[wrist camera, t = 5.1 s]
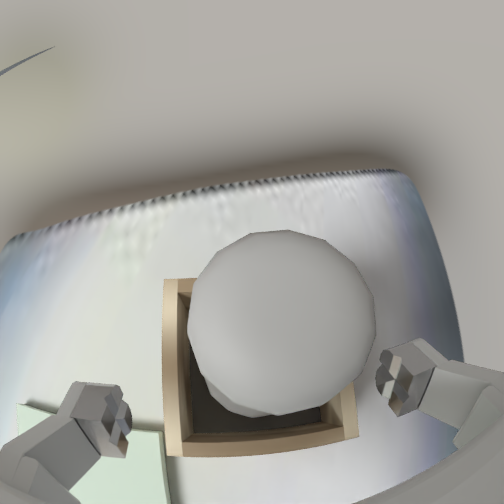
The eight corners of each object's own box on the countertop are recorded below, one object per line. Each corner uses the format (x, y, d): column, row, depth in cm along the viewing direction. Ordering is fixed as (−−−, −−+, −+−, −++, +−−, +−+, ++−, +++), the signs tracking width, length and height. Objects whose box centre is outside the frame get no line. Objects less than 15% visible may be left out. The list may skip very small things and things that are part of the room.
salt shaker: (312, 393, 16) (455, 365, 4) (227, 427, 14) (205, 500, 3) (276, 314, 18) (338, 169, 7) (195, 344, 17) (120, 228, 6)
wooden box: (334, 430, 14) (359, 436, 11) (182, 443, 14) (166, 455, 10) (315, 295, 19) (332, 270, 16) (177, 303, 18) (163, 279, 15)
